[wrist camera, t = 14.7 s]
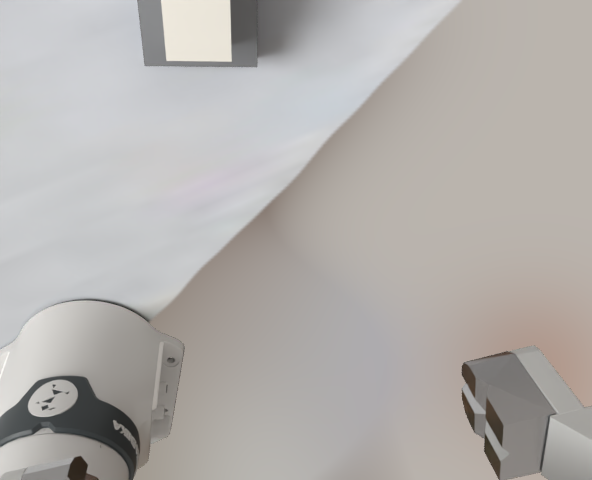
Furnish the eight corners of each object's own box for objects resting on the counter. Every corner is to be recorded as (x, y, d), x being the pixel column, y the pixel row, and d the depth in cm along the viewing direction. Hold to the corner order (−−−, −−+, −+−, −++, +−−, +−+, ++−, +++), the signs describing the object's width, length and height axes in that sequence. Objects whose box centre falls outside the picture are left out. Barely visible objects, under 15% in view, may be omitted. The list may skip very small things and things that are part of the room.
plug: (228, 39, 37) (231, 61, 32) (173, 38, 37) (166, 60, 31) (226, -37, 35) (229, -28, 29) (167, -40, 34) (158, -31, 28)
